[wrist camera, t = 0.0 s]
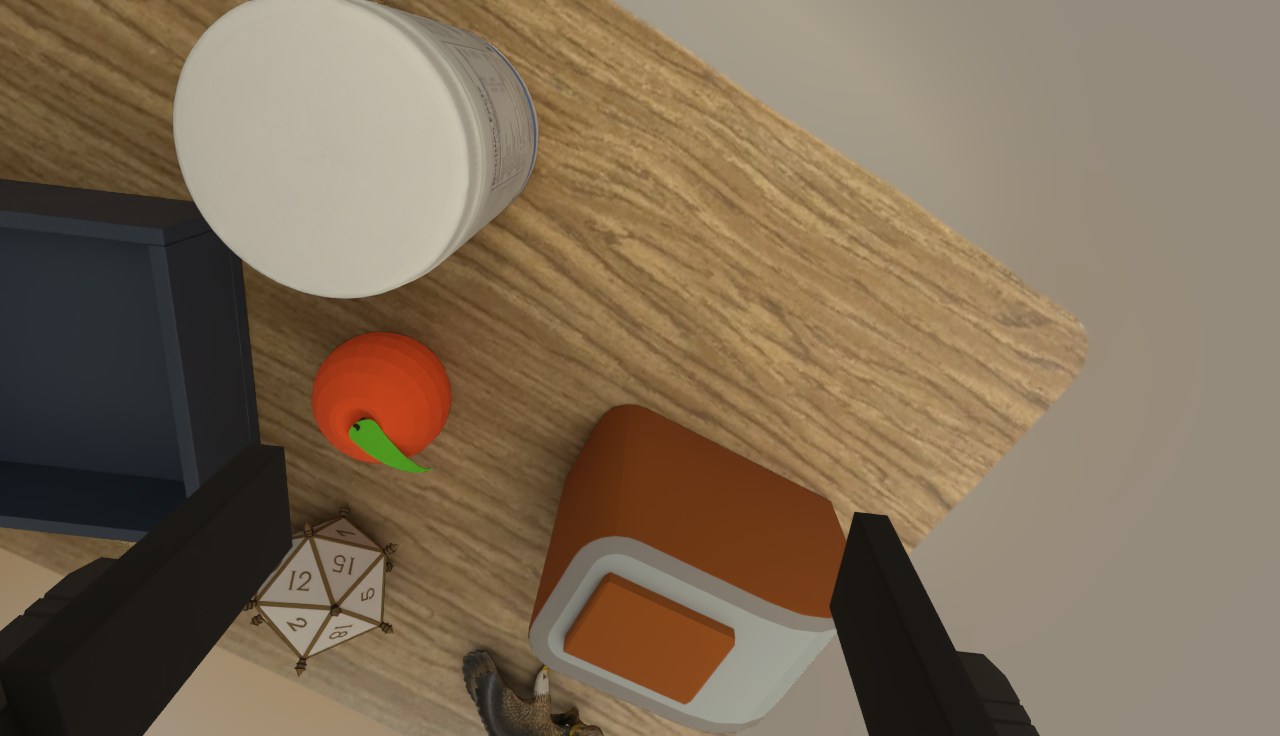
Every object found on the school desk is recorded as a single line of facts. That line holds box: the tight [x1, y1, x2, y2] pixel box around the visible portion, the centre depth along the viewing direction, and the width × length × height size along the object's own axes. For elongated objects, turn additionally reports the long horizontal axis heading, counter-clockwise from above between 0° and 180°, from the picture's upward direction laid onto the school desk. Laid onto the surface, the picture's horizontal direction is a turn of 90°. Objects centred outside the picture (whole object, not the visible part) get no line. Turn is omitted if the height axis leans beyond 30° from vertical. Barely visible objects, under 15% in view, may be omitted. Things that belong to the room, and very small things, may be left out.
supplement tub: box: [173, 0, 539, 298], centre depth 29 cm, size 10×10×15 cm
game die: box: [243, 503, 398, 677], centre depth 42 cm, size 9×8×10 cm
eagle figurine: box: [462, 651, 604, 736], centre depth 47 cm, size 8×7×9 cm
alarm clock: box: [528, 405, 846, 733], centre depth 37 cm, size 15×8×14 cm, turn 61°
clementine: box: [312, 332, 451, 472], centre depth 38 cm, size 8×7×7 cm
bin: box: [0, 179, 260, 542], centre depth 38 cm, size 18×18×6 cm
